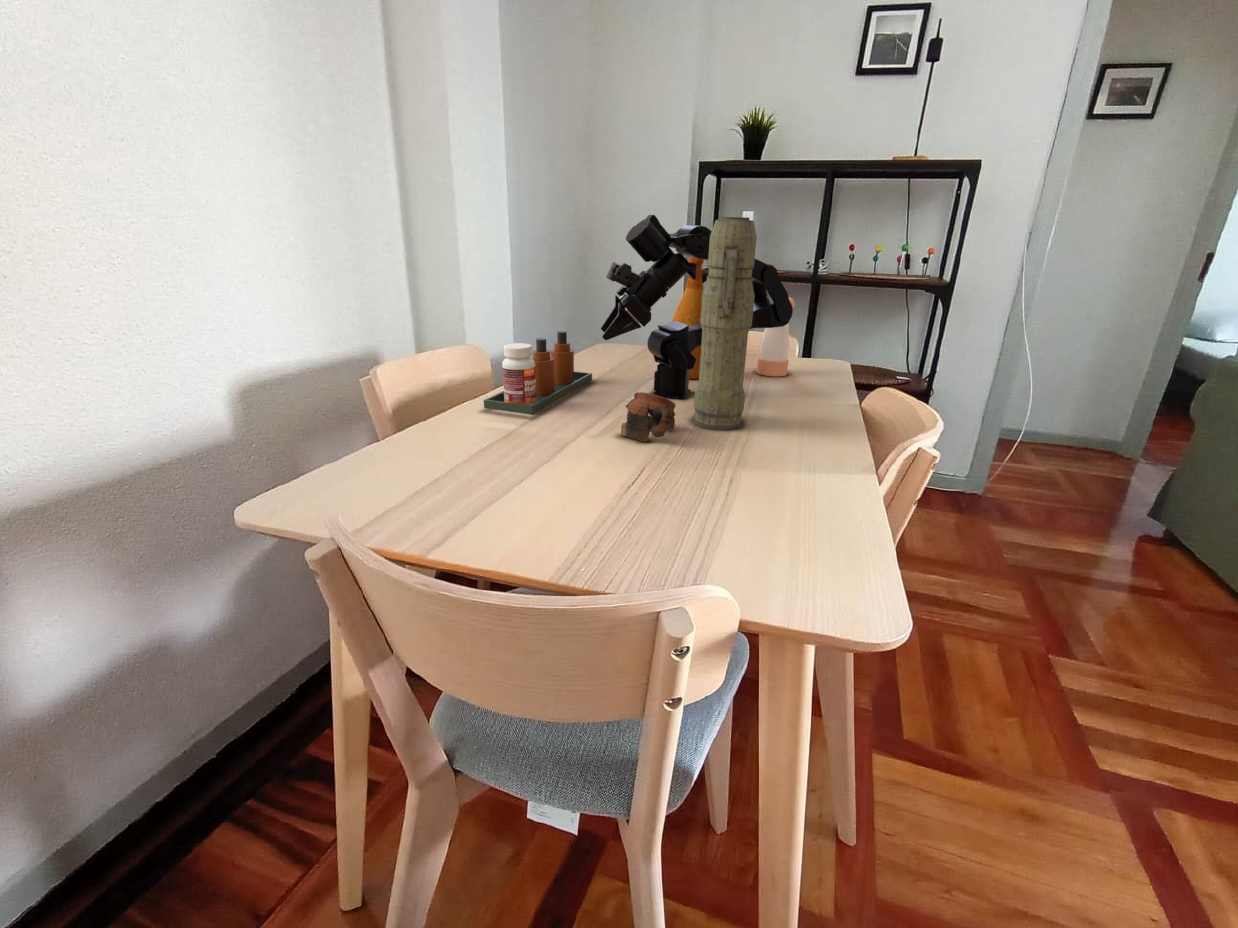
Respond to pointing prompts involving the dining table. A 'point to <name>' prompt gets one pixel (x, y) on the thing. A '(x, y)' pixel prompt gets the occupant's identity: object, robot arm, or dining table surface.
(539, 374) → the amber bottle middle
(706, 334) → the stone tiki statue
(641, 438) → the brown rough arched piece
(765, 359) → the pepper shaker
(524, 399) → the pill bottle
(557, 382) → the amber bottle end
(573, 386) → the tray
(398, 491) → the dining table surface
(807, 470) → the dining table surface
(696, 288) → the wine bottle
